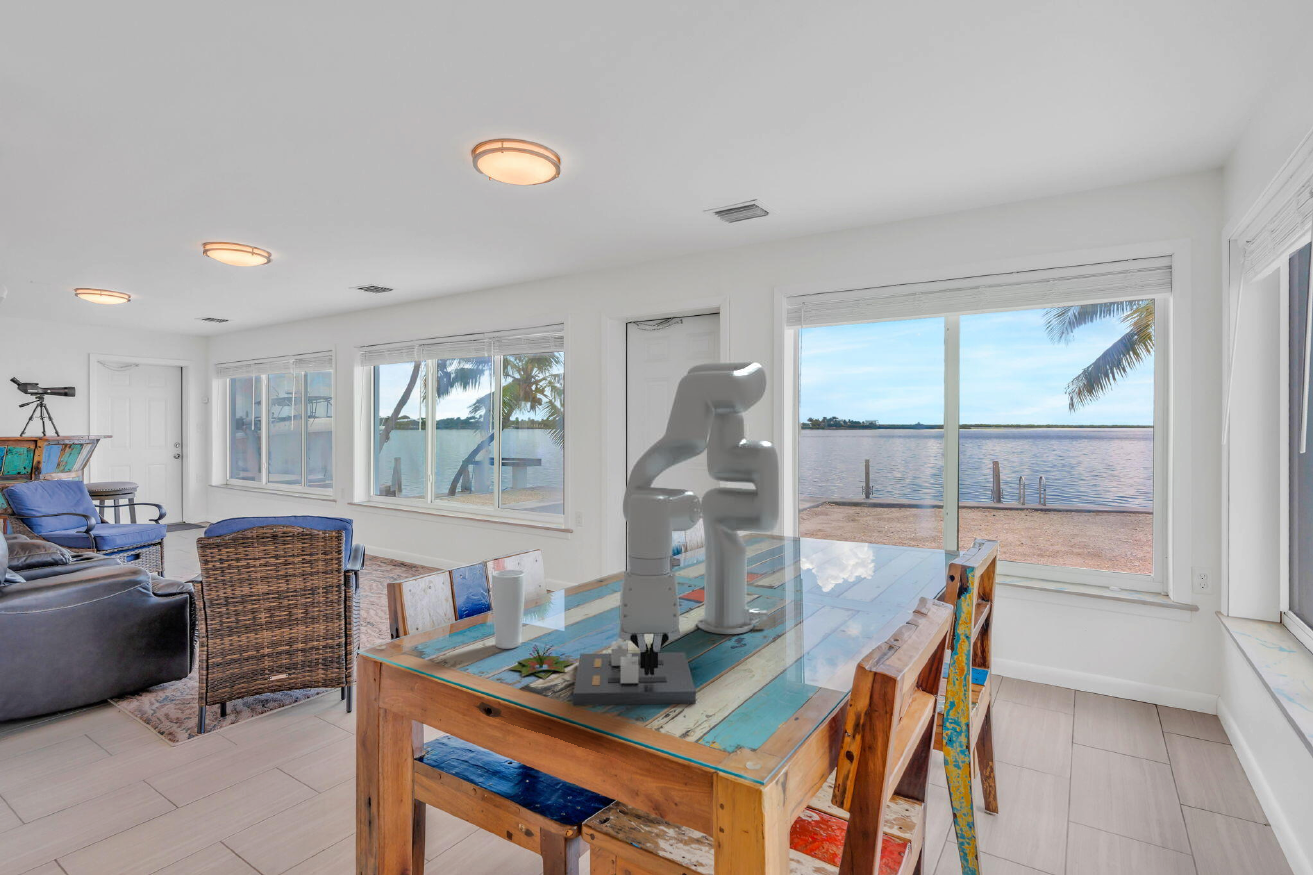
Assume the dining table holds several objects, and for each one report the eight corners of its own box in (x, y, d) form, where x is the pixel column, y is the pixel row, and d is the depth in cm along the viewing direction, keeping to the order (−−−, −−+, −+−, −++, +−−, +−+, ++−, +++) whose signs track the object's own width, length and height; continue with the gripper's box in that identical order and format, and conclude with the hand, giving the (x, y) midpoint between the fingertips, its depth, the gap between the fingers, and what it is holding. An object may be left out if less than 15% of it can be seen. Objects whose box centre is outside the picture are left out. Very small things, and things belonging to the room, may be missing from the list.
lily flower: (537, 654, 128) (537, 631, 128) (586, 665, 122) (586, 641, 122) (495, 674, 117) (495, 649, 117) (546, 687, 112) (546, 661, 111)
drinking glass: (531, 642, 133) (531, 571, 133) (511, 653, 127) (511, 578, 127) (505, 638, 136) (505, 568, 136) (484, 648, 130) (484, 574, 129)
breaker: (627, 657, 119) (627, 638, 119) (627, 665, 115) (628, 645, 115) (611, 657, 118) (611, 638, 118) (611, 665, 115) (611, 645, 114)
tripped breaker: (637, 673, 111) (637, 653, 111) (638, 682, 107) (638, 661, 107) (620, 673, 111) (620, 653, 111) (620, 683, 107) (620, 661, 107)
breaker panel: (684, 662, 122) (684, 651, 122) (695, 703, 104) (695, 690, 104) (580, 664, 121) (580, 653, 121) (573, 705, 103) (573, 692, 103)
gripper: (690, 560, 113) (689, 663, 113) (606, 561, 112) (605, 664, 112) (696, 570, 105) (695, 680, 106) (605, 570, 104) (604, 681, 105)
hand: (649, 672), depth 109 cm, fingers closed
